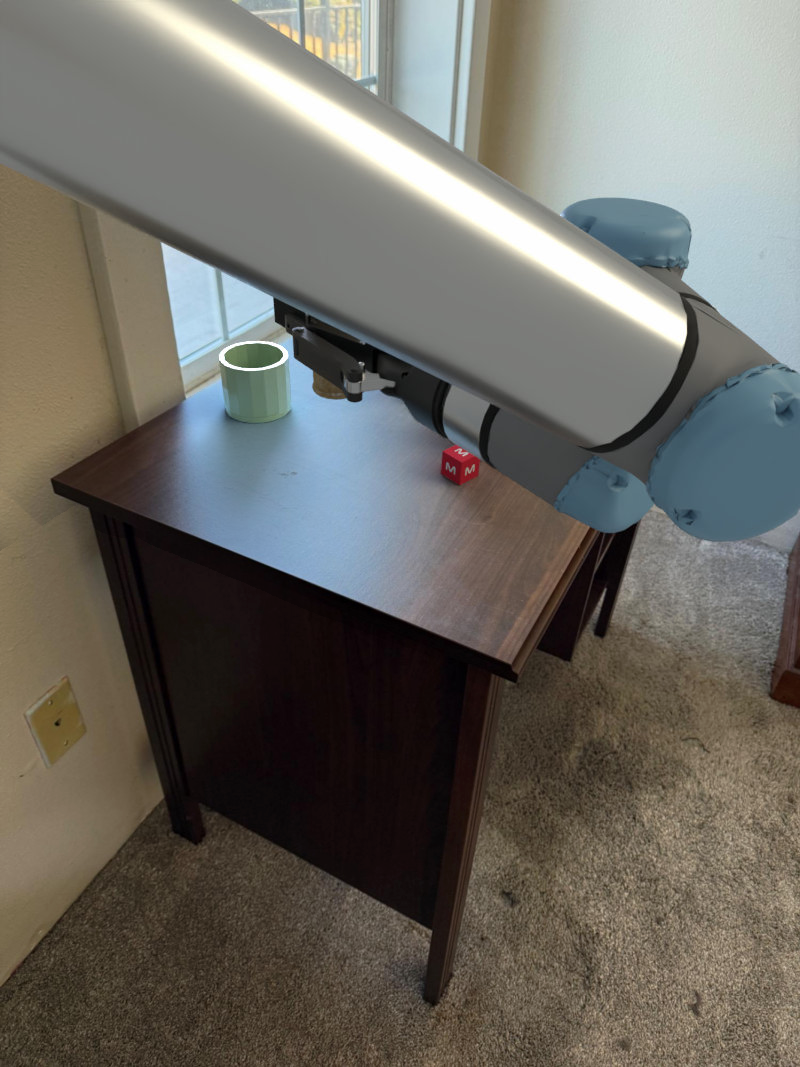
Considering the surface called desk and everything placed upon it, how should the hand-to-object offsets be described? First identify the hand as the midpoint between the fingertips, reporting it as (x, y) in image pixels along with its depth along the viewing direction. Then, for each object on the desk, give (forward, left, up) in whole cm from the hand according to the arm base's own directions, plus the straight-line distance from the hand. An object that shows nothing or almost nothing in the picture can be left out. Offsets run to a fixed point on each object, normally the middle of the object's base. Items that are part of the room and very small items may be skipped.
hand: (300, 301), depth 70 cm
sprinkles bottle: (+2, -5, -7) cm, 9 cm away
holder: (-4, +17, -20) cm, 26 cm away
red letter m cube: (+17, -2, -20) cm, 26 cm away
